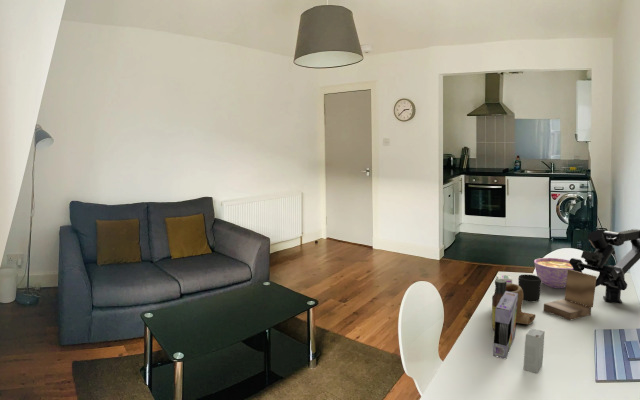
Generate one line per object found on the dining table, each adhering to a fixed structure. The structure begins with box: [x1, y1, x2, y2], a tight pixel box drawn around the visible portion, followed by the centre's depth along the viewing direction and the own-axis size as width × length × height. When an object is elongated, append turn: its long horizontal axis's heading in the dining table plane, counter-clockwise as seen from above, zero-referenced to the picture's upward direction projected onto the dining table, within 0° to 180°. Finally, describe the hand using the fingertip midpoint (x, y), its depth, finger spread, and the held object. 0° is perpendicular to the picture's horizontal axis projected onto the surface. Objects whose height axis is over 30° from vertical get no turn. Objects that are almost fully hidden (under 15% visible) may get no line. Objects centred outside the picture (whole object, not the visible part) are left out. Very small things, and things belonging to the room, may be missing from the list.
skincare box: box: [523, 328, 545, 374], centre depth 141 cm, size 6×4×12 cm
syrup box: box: [495, 274, 513, 284], centre depth 191 cm, size 6×6×14 cm
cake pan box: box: [492, 291, 518, 359], centre depth 155 cm, size 19×5×18 cm, turn 148°
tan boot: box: [506, 283, 536, 325], centre depth 178 cm, size 15×12×15 cm
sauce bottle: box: [491, 279, 507, 332], centre depth 169 cm, size 6×6×20 cm
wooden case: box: [543, 298, 592, 321], centre depth 187 cm, size 13×12×3 cm
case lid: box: [564, 269, 598, 309], centre depth 189 cm, size 13×12×2 cm
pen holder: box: [517, 274, 542, 303], centre depth 204 cm, size 9×9×10 cm
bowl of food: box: [533, 257, 573, 289], centre depth 221 cm, size 20×20×12 cm
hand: (582, 283), depth 190 cm, fingers open, 9 cm apart
